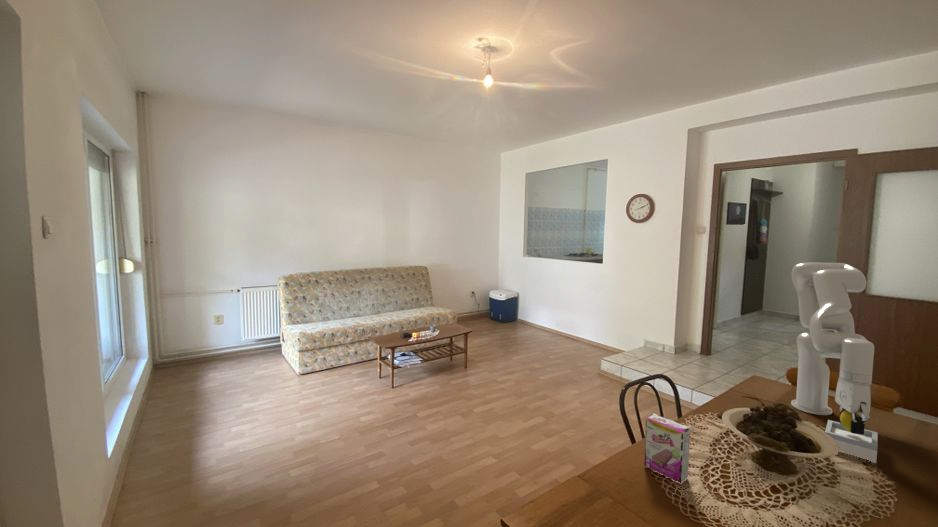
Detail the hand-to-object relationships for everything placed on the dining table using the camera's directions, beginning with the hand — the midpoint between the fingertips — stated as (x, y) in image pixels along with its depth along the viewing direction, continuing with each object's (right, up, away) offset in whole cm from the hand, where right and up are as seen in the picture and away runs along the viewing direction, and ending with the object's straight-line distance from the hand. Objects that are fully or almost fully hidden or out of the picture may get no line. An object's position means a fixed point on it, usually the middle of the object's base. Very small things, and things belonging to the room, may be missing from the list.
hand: (851, 428), depth 127 cm
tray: (0, -7, 0) cm, 7 cm away
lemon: (0, -2, 0) cm, 2 cm away
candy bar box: (-68, -9, -12) cm, 70 cm away
